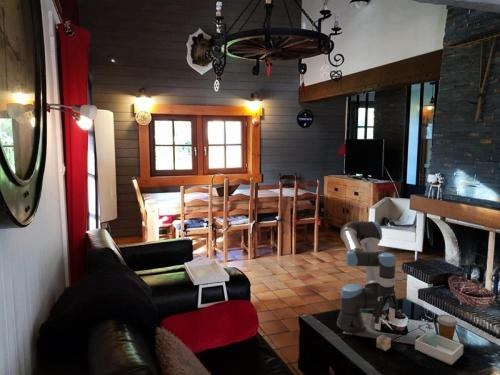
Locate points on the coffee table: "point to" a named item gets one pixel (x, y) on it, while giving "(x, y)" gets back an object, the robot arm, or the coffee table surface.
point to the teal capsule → (431, 339)
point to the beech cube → (383, 342)
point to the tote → (440, 349)
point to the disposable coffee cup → (446, 326)
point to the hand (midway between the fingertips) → (384, 324)
